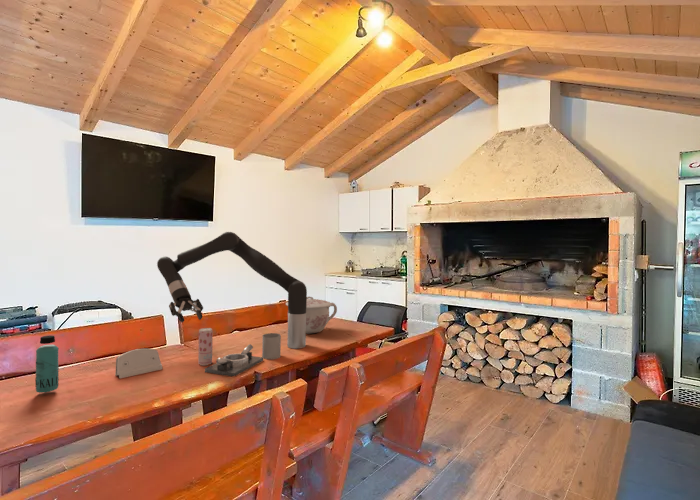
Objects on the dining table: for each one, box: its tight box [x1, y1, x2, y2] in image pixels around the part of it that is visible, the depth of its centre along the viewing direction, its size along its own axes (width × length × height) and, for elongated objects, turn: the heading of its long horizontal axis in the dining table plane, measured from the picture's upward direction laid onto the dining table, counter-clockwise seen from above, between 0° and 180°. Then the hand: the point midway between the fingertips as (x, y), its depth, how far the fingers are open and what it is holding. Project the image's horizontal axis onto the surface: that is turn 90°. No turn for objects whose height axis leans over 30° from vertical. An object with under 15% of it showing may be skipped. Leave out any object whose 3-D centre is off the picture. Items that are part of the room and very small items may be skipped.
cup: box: [261, 332, 282, 360], centre depth 184 cm, size 8×8×10 cm
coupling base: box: [204, 343, 264, 377], centre depth 169 cm, size 24×14×7 cm, turn 161°
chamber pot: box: [285, 296, 338, 335], centre depth 235 cm, size 28×28×21 cm
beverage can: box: [197, 327, 213, 366], centre depth 172 cm, size 6×6×15 cm
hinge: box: [115, 348, 163, 379], centre depth 161 cm, size 17×5×10 cm, turn 137°
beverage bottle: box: [34, 335, 60, 394], centre depth 136 cm, size 6×7×20 cm
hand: (192, 320), depth 179 cm, fingers open, 8 cm apart
